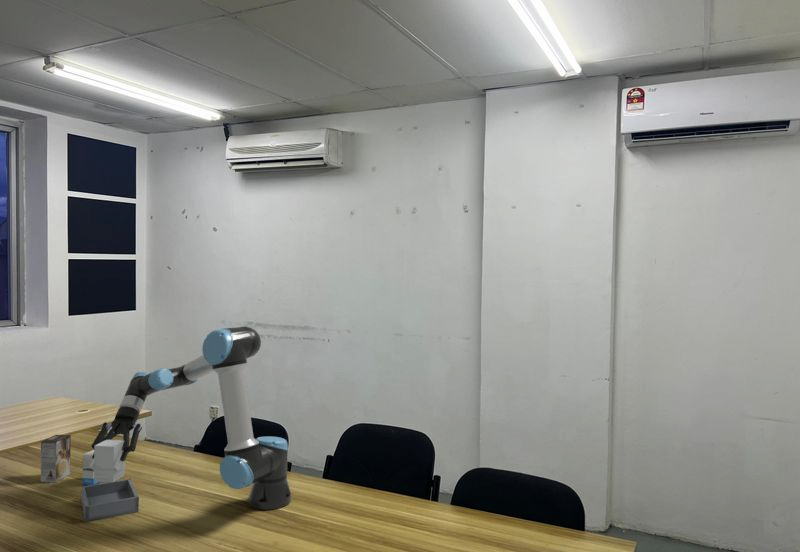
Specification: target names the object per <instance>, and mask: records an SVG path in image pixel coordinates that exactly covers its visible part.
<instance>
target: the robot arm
mask: <svg viewBox="0 0 800 552" xmlns="http://www.w3.org/2000/svg"><path fill="white" fill-rule="evenodd" d="M261 345H262V339H261V336H260V334H259V333H258V332H257V330H255V329H254V328H252V327H250V326H249V327H248V326H239V327H225V328H220V329H215V330H212V331H211V332H209V333H208V334H207V335H206V338H204V340H203V343H202V349H201V350H202V355H201V356H198V357H197V358H195V359H193V360H191V361H189V362H187V363H185V364H183V365H181V366H179V367H175V368H174V367H172V368H168V369H167V368H160V369H155V370H154V371H152V372H150V373H148V372H146V371H138V372H136V373H134V374H133V377H132V378H131V380H130V382H129V385H128V387H127V389H126V391H125V394H124V396H123V398H122V401H121V402H120V404H119V407H118V409H117V411H116V414H115V417H114V419H113V421H112V422H109V423H107V422H103V424H102V428H101V429H100V431H99V433H98V434H97V435H96V437H95V439H94V440H93V442H92V444H91V446H90V447H91V448H92V450H94V446H95V445H97V444H99V443H101V442H103V441H105V440H114V438H115V437H117V435H122V436H123V437H122V438H123V439H122V440H123V441H124V444H123V449H124V451H123V450H120V453H119V455H118V458H117V460H116V462H115V465H114V467H113V468H114V469H115V470H116V471H119V468H120V466H121V463H122V461H125V462H126V459H127V457H128V454H129V453H130V452H132V453H134V452H135V451H136V448H137V443H138V440H139V436H140V433H141V431H142V429H143V427H142V425H141V424H140V423H137V421H138V418H139V417H140V413H141V411H142V409H143V407H144V403H145V401H146V400H147V397H148V396H150V395H152V394H154V393H157V392H161V391H165V390H169V389H174V388H177V387H178V388H179V387H185V386H189V385H192V384H195V383H196V382H198V380H199V379H201V378H203V377H205V376H206V375H209V374H212V373H213V372H215V373H216V374H217V376H218V384H219V389H220V390H219V391H220V397H221V403H222V410H223V416H224V424H225V431H226V437H227V439H226V440H227V445H226V447H224V449H223V450H224V451H223V452H224V457H223V459H221V462H220V463H219V473H220V477H221V479H222V480H223V482H224V483H225V484H226V485H227V486H228V487H229V488H231V489H234V490H240V489H243V488H248V487H249V486H251V485H252V487H251V490H250V491H249V492H250V493H249V495H248V505H249V506H250V507H251V508H254V509H258V510H265V511H267V510H276V509H280V508H283V507H286V506H287V505H289V504H290V503H291V501H292V492H291V489H290V484H289V482H288V454H289V453H288V452H289V448H288V441H287V439H285V438H284V437H283V438H282V437H280V436H279V437H278V436H270V435H269V436H259V437H257V438H255V437H254V432H253V425H252V417H251V411H250V404H249V398H248V391H247V385H246V379H245V378H246V377H245V371H244V370H245V368H246V366H247V365H248V361H247V359H249V358H252V357H254V356H256V355H257V354H258V353H259V351H260V349H261ZM131 431H132V436H131V439H130V434H131V433H130V432H131ZM92 459H93V461H92V463H91V465H90V467H91V469H92V470H94V454H93V456H92Z"/></svg>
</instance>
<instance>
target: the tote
mask: <svg viewBox="0 0 800 552" xmlns="http://www.w3.org/2000/svg"><path fill="white" fill-rule="evenodd" d="M139 501H140V498H139V495H138V493H137V491H136V487H135V485H134V484H133V482H132V479H131V478H126V479H118V480H116V481H115V482H100V483H97V484H95V485H85V486H84V485H83V486H81V488H80V503H81V508H82V512H83V518H84V522H85V523H89V522H93V521H97V520H98V521H99V520H103V519H109V518H113V517H118V516H119V517H120V516H124V515H128V514H133V513H138V512H139V509H140V508H139V506H140V505H139V503H140V502H139Z"/></svg>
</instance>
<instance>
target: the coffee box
mask: <svg viewBox="0 0 800 552" xmlns="http://www.w3.org/2000/svg"><path fill="white" fill-rule="evenodd" d="M71 437H72V435H71V434H54V435H52V436H50V437H48V438H45V439H43V440H41V441H40V482H41V483H58V482H59V481H61V480H62V479H64V478H66V477H68V476H69V475H71V445H72V444H71V440H72V439H71Z"/></svg>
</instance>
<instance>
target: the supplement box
mask: <svg viewBox="0 0 800 552" xmlns="http://www.w3.org/2000/svg"><path fill="white" fill-rule="evenodd" d="M123 444H124V441H123V439H112V440H105V441H103V442H101V443H99V444H97V445H95V446H94V449H93V450H94V481H99V483H107V482H115V481H119V480H121V478H123V477H124V476H125V475H126V460H125V461H122V463H121V466H120V468H119V471H116V470H115V469H114V468H113V467H114V465H115V462H116V460H117V458H118V455H119V453H120V450H123V451H124V449H123Z"/></svg>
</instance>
